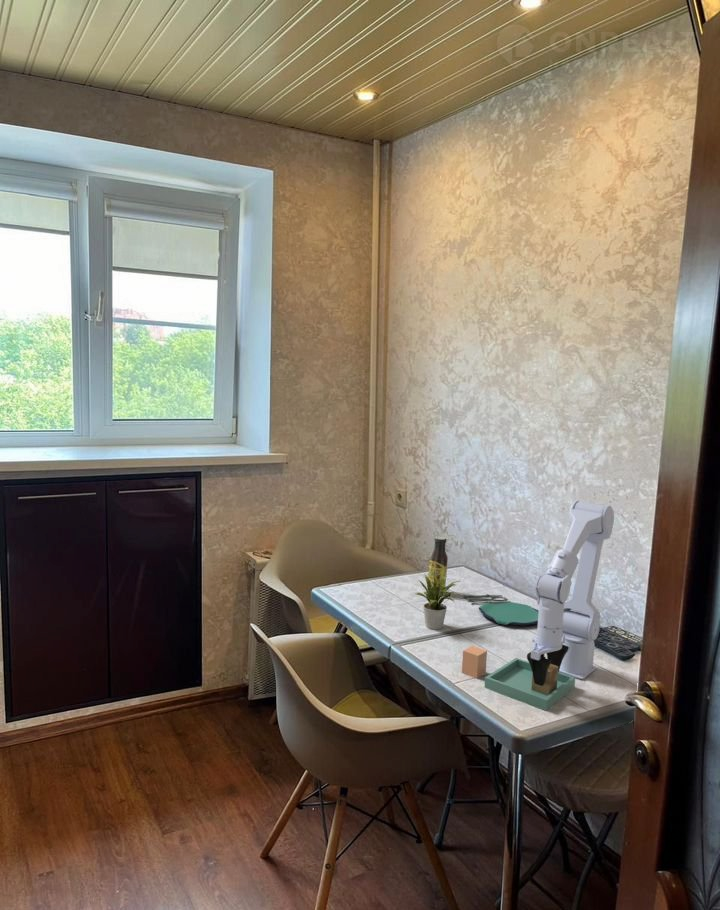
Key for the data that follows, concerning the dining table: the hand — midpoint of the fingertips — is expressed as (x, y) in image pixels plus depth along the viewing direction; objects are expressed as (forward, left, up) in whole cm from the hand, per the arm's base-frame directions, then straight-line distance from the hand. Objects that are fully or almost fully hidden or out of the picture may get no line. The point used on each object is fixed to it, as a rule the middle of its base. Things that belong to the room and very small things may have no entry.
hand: (546, 679), depth 158 cm
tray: (0, -4, -3) cm, 5 cm away
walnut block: (0, 0, -3) cm, 3 cm away
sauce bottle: (-42, -60, -4) cm, 73 cm away
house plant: (-15, -42, -4) cm, 45 cm away
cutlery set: (-43, -34, -4) cm, 56 cm away
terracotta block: (+3, -18, -4) cm, 19 cm away
